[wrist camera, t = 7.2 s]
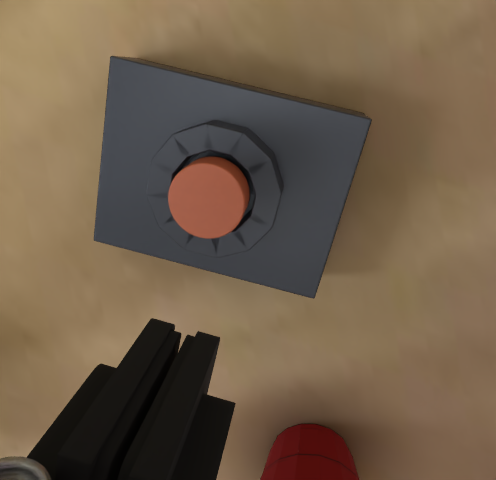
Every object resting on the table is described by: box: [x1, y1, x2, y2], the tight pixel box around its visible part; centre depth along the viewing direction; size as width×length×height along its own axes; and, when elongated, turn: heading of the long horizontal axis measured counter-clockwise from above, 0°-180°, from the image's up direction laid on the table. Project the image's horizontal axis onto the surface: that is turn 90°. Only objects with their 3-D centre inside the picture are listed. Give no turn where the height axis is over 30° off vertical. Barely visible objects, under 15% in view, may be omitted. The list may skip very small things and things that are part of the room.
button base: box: [94, 56, 372, 298], centre depth 23 cm, size 13×10×5 cm
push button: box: [168, 156, 250, 239], centre depth 21 cm, size 4×4×2 cm
